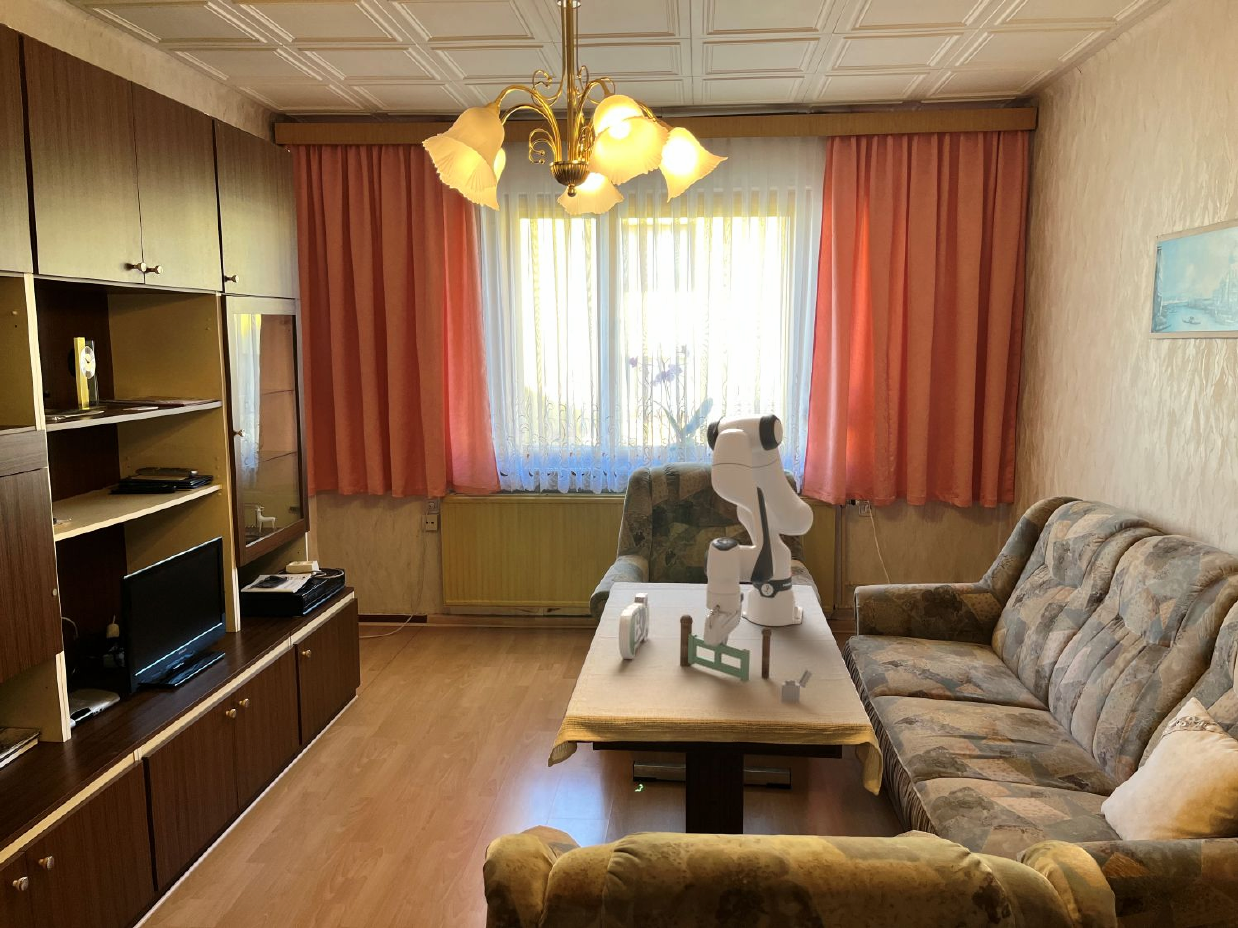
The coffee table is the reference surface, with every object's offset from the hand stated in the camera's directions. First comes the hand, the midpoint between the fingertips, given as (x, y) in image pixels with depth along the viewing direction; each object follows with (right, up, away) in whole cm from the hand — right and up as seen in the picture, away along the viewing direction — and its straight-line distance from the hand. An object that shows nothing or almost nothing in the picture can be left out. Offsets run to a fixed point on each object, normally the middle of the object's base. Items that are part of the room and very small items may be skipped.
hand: (721, 651), depth 245 cm
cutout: (-23, -3, +18) cm, 29 cm away
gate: (-1, -5, -1) cm, 5 cm away
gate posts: (+1, -6, +2) cm, 6 cm away
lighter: (+16, -9, -18) cm, 26 cm away
